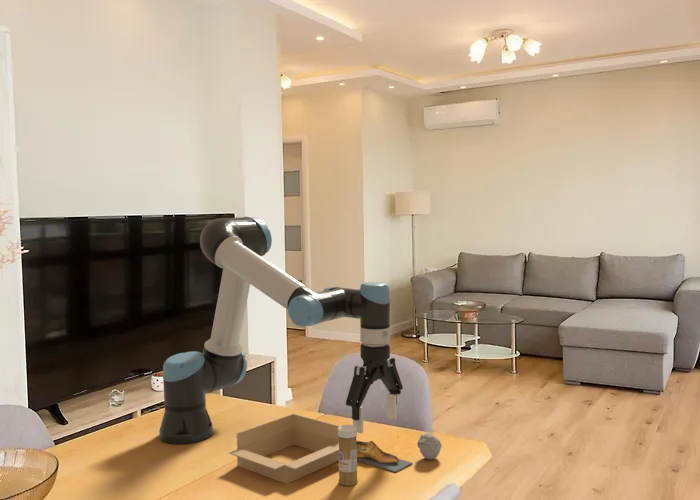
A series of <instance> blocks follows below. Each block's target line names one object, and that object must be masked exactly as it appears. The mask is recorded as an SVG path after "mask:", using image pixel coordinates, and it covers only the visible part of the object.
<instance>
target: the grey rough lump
mask: <svg viewBox="0 0 700 500" xmlns="http://www.w3.org/2000/svg"><path fill="white" fill-rule="evenodd" d="M416 444H417V447H418V449H419V452H420V454H421V455H422V457H423V458H424V459H427V460H434V459H437V457H438V456H439V454H440V452H441V449H442V443H441V440H440V439H439V437H438V436H436V435H434V434H433V433H432V432H430V433H429V432H425V433H421V434H420V437H419V439H418V440H417V443H416Z"/></svg>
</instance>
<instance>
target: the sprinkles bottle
mask: <svg viewBox="0 0 700 500" xmlns="http://www.w3.org/2000/svg"><path fill="white" fill-rule="evenodd" d="M338 426H339V427H338V437H339V461H338V476H339V478H338V484H339V485H342V486H346V487H349V486H350V487H352V486H354V485H356V484H357V483H358V482H359V480H358V461H357V444H356V441H357V436H358V432H357V428H356V426H353V424H342V425H338Z"/></svg>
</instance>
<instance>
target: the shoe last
mask: <svg viewBox="0 0 700 500" xmlns="http://www.w3.org/2000/svg"><path fill="white" fill-rule="evenodd" d="M356 444H357V458H368V459H372V460H374V461H376V462H378V463H382V464H396V463H397V462H398V461H399V459H400V458H399V457H397V456H396V455H394V454H393V453H389V452H385V451H383V450H382V449H381V448H380V447H379V446H378V445H377V444H376V443H375V442H374V441H373V440H370V441H368V442H367V441H360V440H356Z"/></svg>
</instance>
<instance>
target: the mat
mask: <svg viewBox="0 0 700 500" xmlns="http://www.w3.org/2000/svg"><path fill="white" fill-rule="evenodd" d="M398 459H399V461H398V462H397V463H396V464H382V463H378V462H376V461H374V460H372V459H368V458H357V462H358V463H362V464H366V465H368V466H372V467H375V468H379V469H382V470H385V471H388V472H391V473H395V474H396V473H398V472H400V471H403V470H404V469H406V468H408V467H409V466H411V465H413V462H412V461H408V460H405V459H401V458H398Z"/></svg>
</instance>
